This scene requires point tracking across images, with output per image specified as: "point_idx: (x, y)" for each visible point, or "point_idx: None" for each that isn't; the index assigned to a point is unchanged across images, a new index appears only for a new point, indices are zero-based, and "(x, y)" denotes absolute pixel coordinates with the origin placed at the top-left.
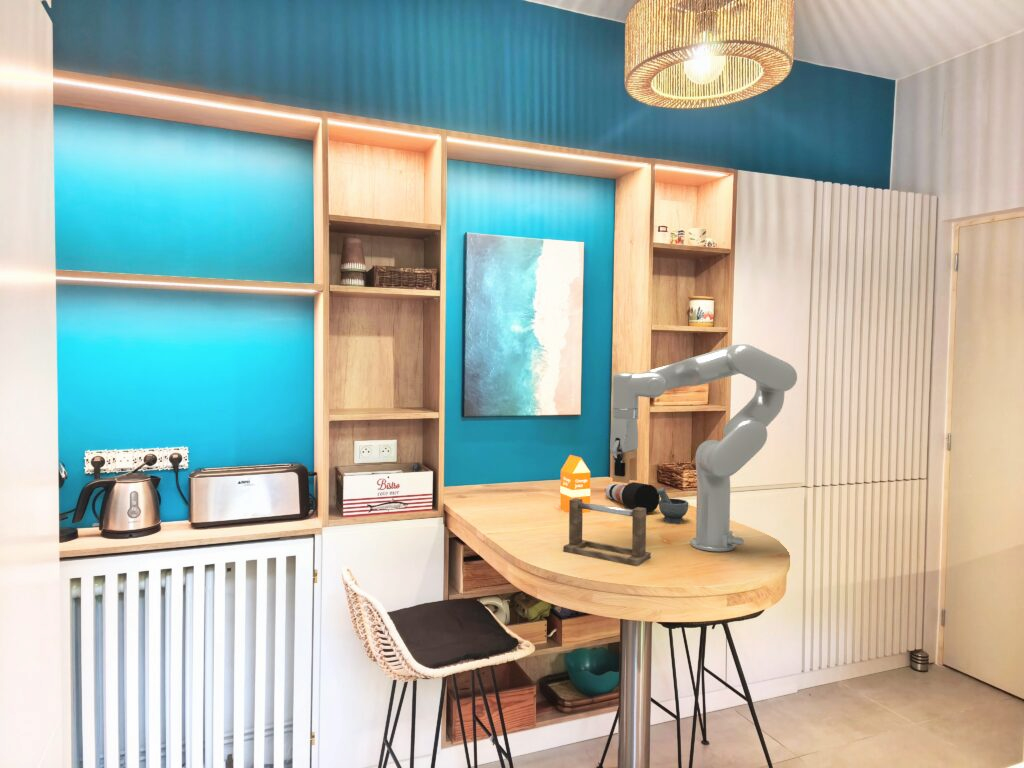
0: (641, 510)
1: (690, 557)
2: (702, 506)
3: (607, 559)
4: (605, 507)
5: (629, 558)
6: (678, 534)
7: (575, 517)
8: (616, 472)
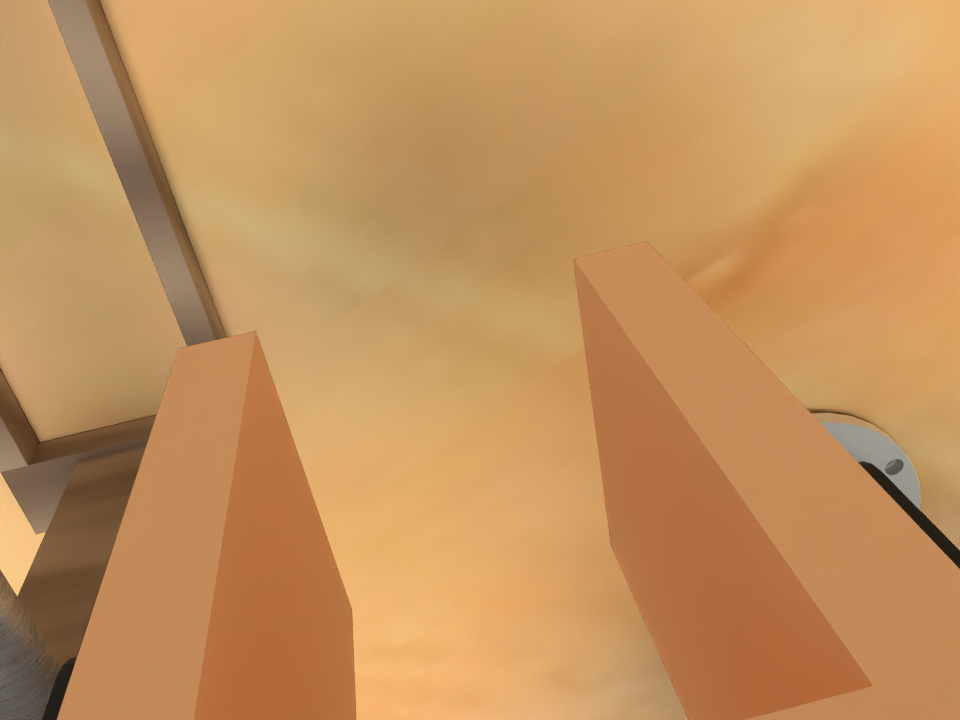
0: None
1: (478, 575)
2: None
3: None
4: None
5: (18, 482)
6: (933, 237)
7: None
8: (70, 670)
